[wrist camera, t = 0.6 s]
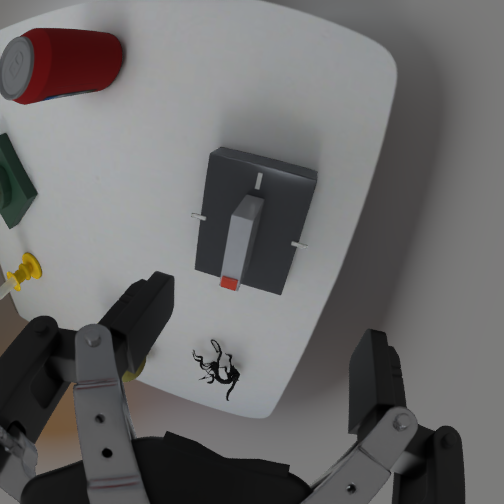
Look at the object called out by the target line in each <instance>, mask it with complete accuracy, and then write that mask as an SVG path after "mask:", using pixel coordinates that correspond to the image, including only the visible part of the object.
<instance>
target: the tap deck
mask: <svg viewBox="0 0 504 504" xmlns="http://www.w3.org/2000/svg"><path fill="white" fill-rule="evenodd" d="M317 173H318V172H317V171H315V170H311V169H308V168H304V167H301V166H297V165H294V164H290V163H286V162H282V161H279V160H275V159H271V158H267V157H263V156H259V155H255V154H251V153H247V152H242V151H238V150H234V149H229V148H224V147H220V148H218V149H216V150H215V151H213V152H211V153H210V156H209V163H208V169H207V176H206V183H205V190H204V197H203V204H202V212H201V215H199V214H195V213H192V214H191V217H194V218H197V219H200V227H199V236H198V244H197V253H196V262H195V270H198V271H201V272H204V273H208V274H211V275H214V276H217V277H221V272H222V266H223V260H224V254H225V249H226V243H227V238H228V232H229V226H230V221H231V215H232V214H233V213H234V211H235V210H236V208H237V207H238V206H239V204H240V203H241V201H242V200H243V199H244V197H245V196H246V195H251V196H254V197H258V198H262V199H264V205H263V209H262V213H261V217H260V222H259V226H258V230H257V234H256V239H255V243H254V247H253V251H252V256H251V260H250V263H249V266H248V268H247V271H246V273H245V275H244V278H243V280H242V282H241V284H244V285H247V286H250V287H254V288H257V289H261V290H264V291H267V292H271V293H274V294H278V295H281V294H282V291H283V288H284V285H285V282H286V279H287V276H288V273H289V270H290V267H291V264H292V261H293V257H294V254H295V251H296V248H297V247H300V248H303V249H307V246H308V245H305V244H302V243H298V242H299V239H300V236H301V232H302V229H303V226H304V223H305V220H306V216H307V213H308V210H309V206H310V203H311V200H312V197H313V193H314V190H315V186H316V183H317Z"/></svg>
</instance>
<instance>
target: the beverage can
mask: <svg viewBox="0 0 504 504" xmlns="http://www.w3.org/2000/svg"><path fill="white" fill-rule="evenodd" d="M121 64H122V47H121V44H120V42H119V41H118V39H117V38H116V37H115V36H114V35H112V34H110V33H104V32H97V31H89V30H78V29H62V28H35V29H32V30H30V31H28V32H26V33H24V34H23V35H21V36H20V37H16V38H14V39H13V40H12V41H10V42H9V44H8V45H7V46H6V48H5V50H4V51H3V54H2V56H1V59H0V93H1V95H2V96H3V97H4V98H5V99H7V100H13V101H15V102H17V103H19V104H24V105H26V104H31V103H35V102H40V101H45V100H50V99H55V98H60V97H66V96H72V95H78V94H84V93H90V92H96V91H100V90H103V89H105V88H106V87H108V86H109V85H110V84H111V83H112V82H113V81H114V79H115V78H116V76H117V74H118V72H119V70H120V67H121Z"/></svg>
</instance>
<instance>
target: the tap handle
mask: <svg viewBox="0 0 504 504" xmlns="http://www.w3.org/2000/svg"><path fill="white" fill-rule="evenodd" d="M263 205H264V199H262V198H258V197H254V196H251V195H246V196H245V197H244V199H243V200H242V201H241V203H240V204H239V206H238V207H237V208H236V210H235V211H234V213H233V214H232V215H231V221H230V226H229V232H228V238H227V243H226V249H225V254H224V260H223V266H222V272H221V278H220V284H219V286H221V287H224V288H227V289H231V290H234V291H238V289H239V287H240V285H241V282H242V280H243V278H244V275H245V273H246V271H247V268H248V266H249V263H250V260H251V256H252V251H253V247H254V243H255V239H256V234H257V230H258V226H259V222H260V217H261V213H262V209H263Z"/></svg>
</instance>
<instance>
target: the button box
mask: <svg viewBox="0 0 504 504" xmlns="http://www.w3.org/2000/svg"><path fill="white" fill-rule="evenodd" d="M36 196H37V192H36V190H35V188H34V187H33V185H32V183H31V181H30V179H29V178H28V176H27V174H26V172H25V170H24V168H23V166H22V165H21V163H20V161H19V159H18V157H17V155H16V153H15V151H14V149H13V147H12V145H11V143H10V140H9V138H8V136H7V134H6V133H4V134H1V135H0V213H1V215H2V217H3V219H4V221H5V222H6V224H7V226H8V228H9V229H11V228H13V227H14V226H16V225H17V224H18V223H19V222H20V220H21V219H22V217H23V215H24V214H25V212H26V211H27V209H28V208H29V206H30V205H31V203H32V202H33V200H34V199H35V197H36Z"/></svg>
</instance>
